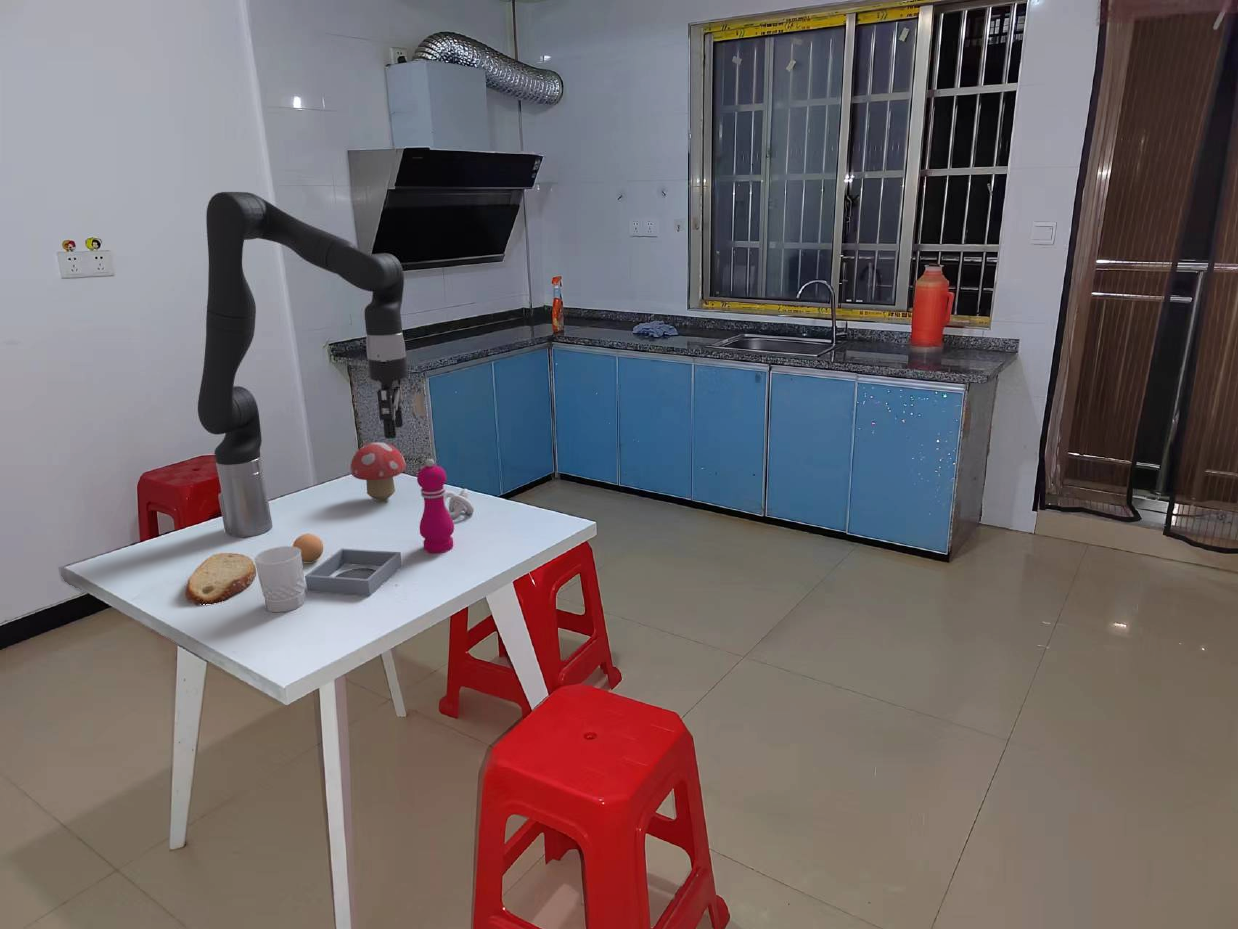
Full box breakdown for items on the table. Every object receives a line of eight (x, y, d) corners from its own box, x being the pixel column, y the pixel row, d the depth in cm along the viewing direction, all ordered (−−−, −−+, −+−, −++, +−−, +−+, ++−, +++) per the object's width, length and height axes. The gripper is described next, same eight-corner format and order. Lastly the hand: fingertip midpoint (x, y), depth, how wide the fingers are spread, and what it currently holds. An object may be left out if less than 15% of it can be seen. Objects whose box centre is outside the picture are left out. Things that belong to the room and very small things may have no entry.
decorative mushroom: (420, 496, 202) (414, 439, 197) (381, 512, 191) (374, 453, 186) (383, 488, 208) (376, 433, 204) (343, 504, 197) (335, 447, 193)
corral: (307, 591, 151) (304, 576, 150) (343, 562, 164) (341, 548, 163) (370, 596, 149) (368, 580, 148) (402, 566, 161) (400, 552, 160)
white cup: (263, 617, 142) (254, 567, 138) (263, 599, 148) (254, 550, 145) (309, 608, 144) (302, 558, 141) (307, 591, 151) (300, 543, 148)
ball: (288, 566, 162) (284, 539, 160) (305, 554, 168) (301, 528, 166) (314, 568, 161) (310, 541, 159) (330, 556, 167) (326, 530, 165)
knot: (445, 523, 183) (443, 500, 182) (436, 512, 190) (434, 490, 188) (476, 517, 187) (474, 494, 185) (466, 507, 193) (464, 484, 192)
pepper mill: (462, 546, 170) (454, 458, 164) (434, 557, 165) (424, 466, 159) (443, 538, 175) (434, 452, 169) (415, 548, 170) (405, 459, 164)
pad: (323, 587, 153) (323, 586, 153) (347, 567, 161) (347, 566, 161) (365, 590, 151) (365, 589, 151) (387, 570, 159) (387, 569, 159)
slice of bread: (229, 557, 169) (226, 541, 167) (287, 572, 160) (284, 556, 159) (148, 592, 154) (144, 575, 152) (208, 611, 145) (204, 593, 144)
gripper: (374, 350, 166) (382, 424, 171) (360, 362, 153) (369, 442, 158) (410, 349, 167) (417, 423, 172) (399, 361, 153) (407, 441, 158)
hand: (394, 432), depth 165 cm, fingers open, 8 cm apart
